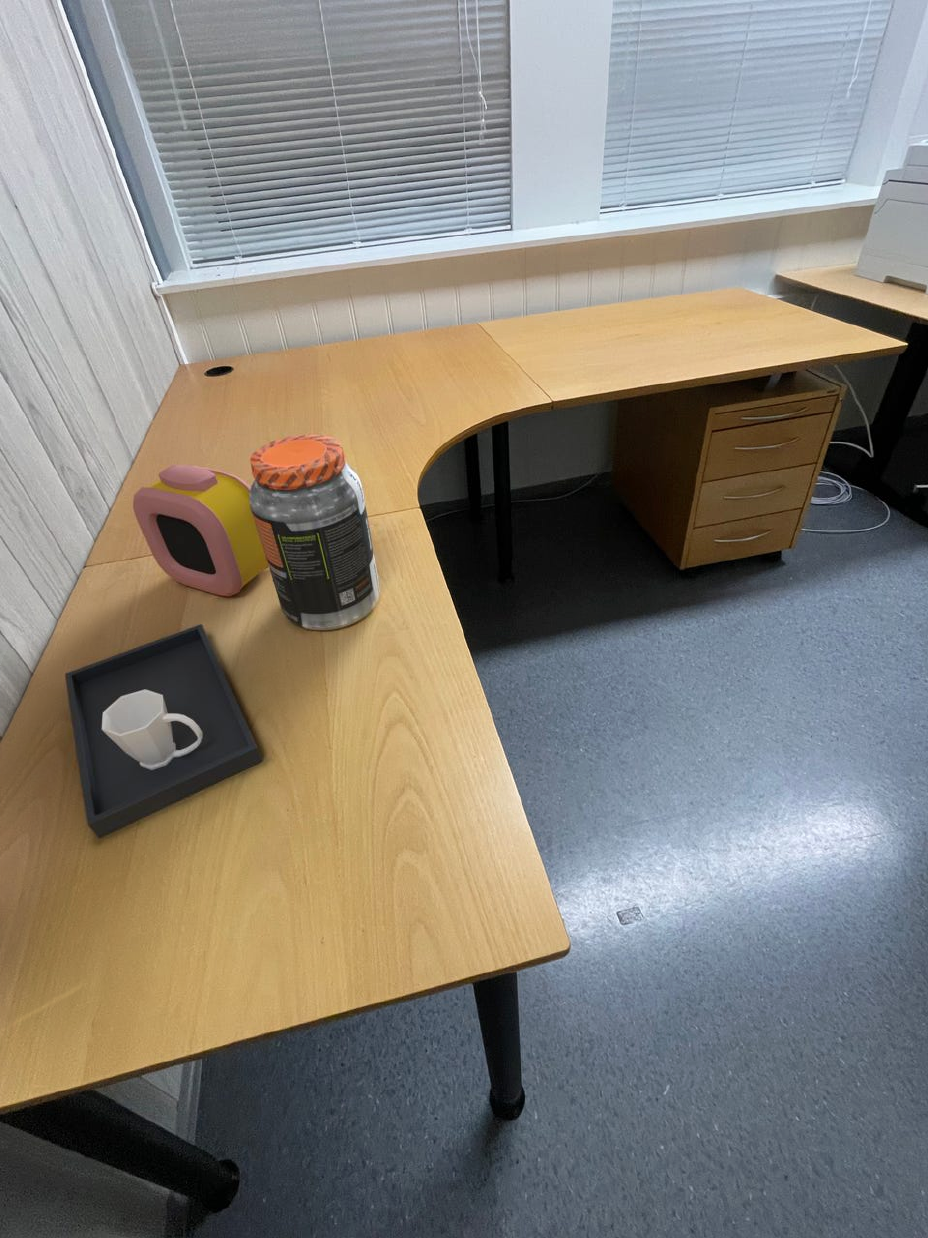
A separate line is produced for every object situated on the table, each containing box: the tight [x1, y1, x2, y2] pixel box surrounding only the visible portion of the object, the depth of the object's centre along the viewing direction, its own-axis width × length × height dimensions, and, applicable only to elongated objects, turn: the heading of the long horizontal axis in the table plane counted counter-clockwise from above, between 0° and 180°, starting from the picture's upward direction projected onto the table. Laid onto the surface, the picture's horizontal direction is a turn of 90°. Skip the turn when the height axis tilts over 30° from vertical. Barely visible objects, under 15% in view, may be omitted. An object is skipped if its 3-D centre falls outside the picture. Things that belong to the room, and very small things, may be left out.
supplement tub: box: [249, 434, 380, 631], centre depth 89 cm, size 16×16×26 cm
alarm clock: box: [132, 464, 269, 597], centre depth 98 cm, size 18×11×19 cm, turn 65°
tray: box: [64, 623, 263, 839], centre depth 78 cm, size 28×19×3 cm
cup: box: [102, 689, 203, 770], centre depth 71 cm, size 7×10×8 cm
